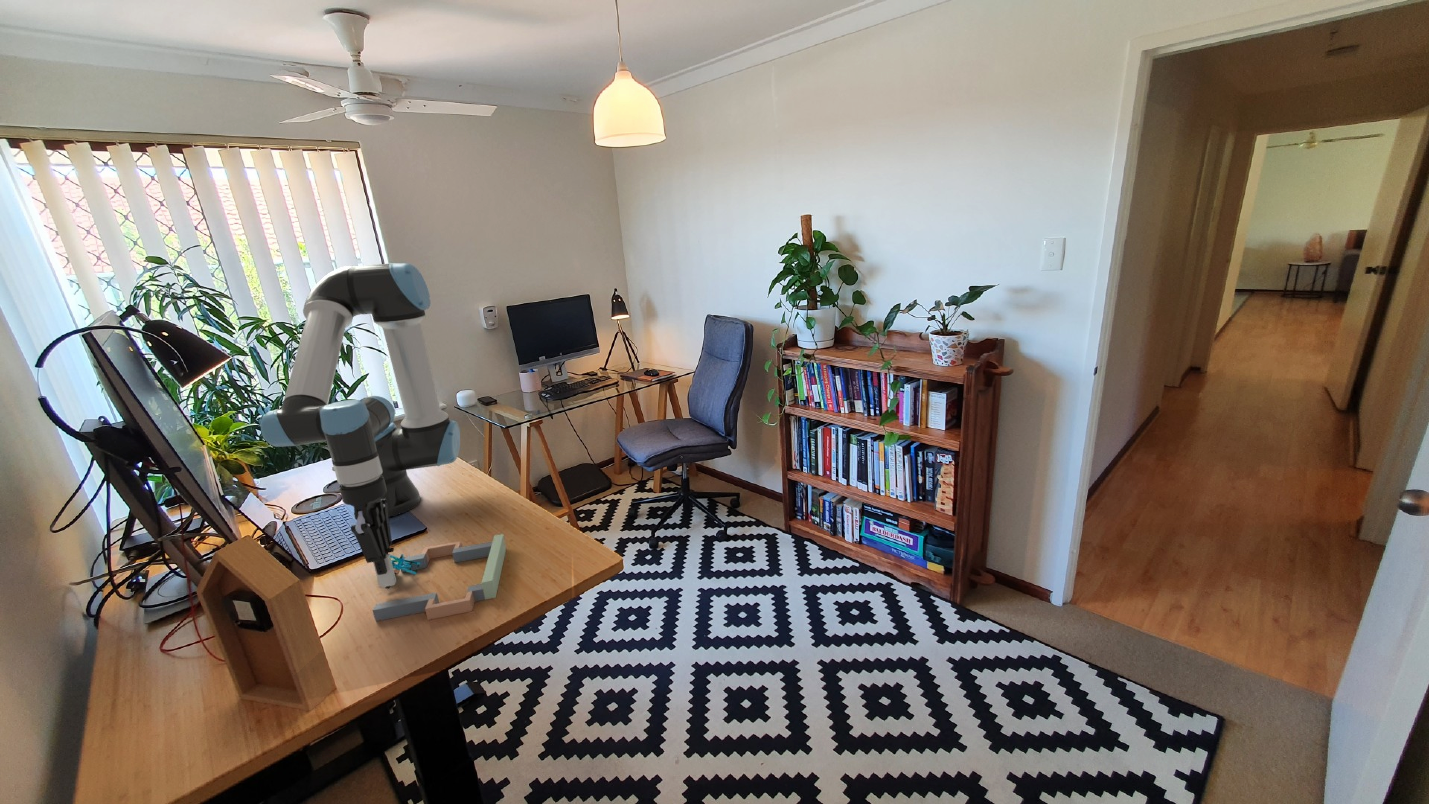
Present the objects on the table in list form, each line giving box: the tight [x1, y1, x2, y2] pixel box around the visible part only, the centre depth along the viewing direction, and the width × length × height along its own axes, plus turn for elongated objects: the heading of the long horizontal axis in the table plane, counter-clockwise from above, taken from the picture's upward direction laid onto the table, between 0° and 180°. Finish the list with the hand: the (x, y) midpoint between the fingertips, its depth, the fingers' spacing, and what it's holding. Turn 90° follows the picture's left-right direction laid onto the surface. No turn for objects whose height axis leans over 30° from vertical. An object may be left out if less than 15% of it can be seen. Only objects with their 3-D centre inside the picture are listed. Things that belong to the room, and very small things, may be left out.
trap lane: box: [372, 533, 507, 622], centre depth 115 cm, size 25×22×4 cm
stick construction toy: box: [385, 553, 421, 590], centre depth 116 cm, size 12×7×8 cm
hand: (388, 584), depth 112 cm, fingers closed
